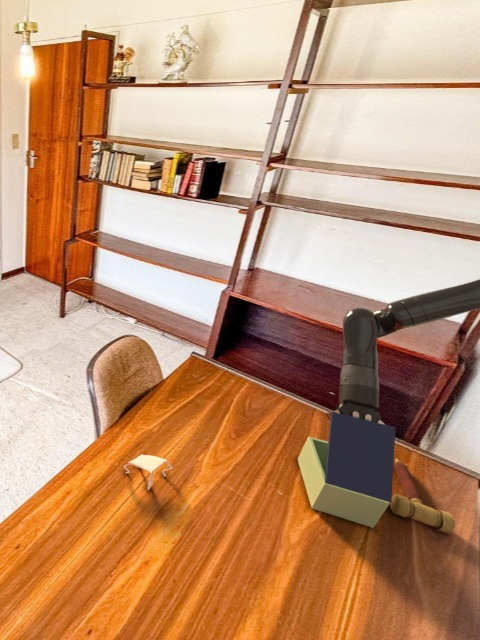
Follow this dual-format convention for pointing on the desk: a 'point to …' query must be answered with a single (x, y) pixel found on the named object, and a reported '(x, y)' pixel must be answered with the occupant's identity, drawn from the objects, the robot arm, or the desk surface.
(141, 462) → the miniature stool
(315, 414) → the desk surface
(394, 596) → the desk surface
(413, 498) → the gavel
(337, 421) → the lid
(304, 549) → the desk surface
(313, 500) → the box
